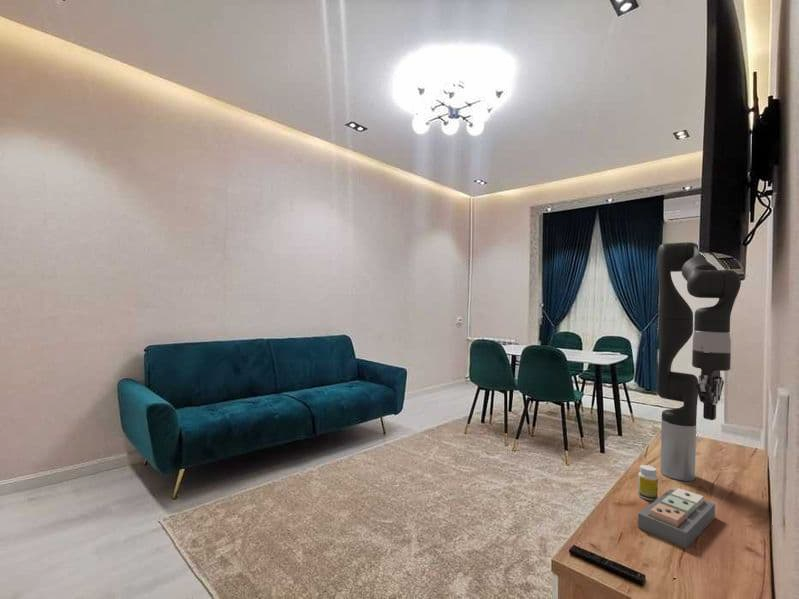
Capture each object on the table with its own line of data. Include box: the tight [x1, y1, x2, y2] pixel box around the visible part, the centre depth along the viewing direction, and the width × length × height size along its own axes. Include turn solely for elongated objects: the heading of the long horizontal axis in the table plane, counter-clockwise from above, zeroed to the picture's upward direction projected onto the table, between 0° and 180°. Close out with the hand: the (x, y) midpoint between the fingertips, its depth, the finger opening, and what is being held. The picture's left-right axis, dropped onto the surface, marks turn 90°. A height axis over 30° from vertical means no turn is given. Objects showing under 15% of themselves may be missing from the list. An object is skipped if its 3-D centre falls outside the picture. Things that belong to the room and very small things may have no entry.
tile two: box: [661, 495, 695, 518], centre depth 100 cm, size 6×6×3 cm
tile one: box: [671, 487, 704, 509], centre depth 104 cm, size 6×6×3 cm
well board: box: [637, 488, 716, 549], centre depth 100 cm, size 22×10×4 cm, turn 128°
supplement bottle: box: [637, 464, 659, 502], centre depth 113 cm, size 5×5×8 cm
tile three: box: [650, 503, 685, 528], centre depth 96 cm, size 6×6×3 cm
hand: (709, 418), depth 98 cm, fingers closed
